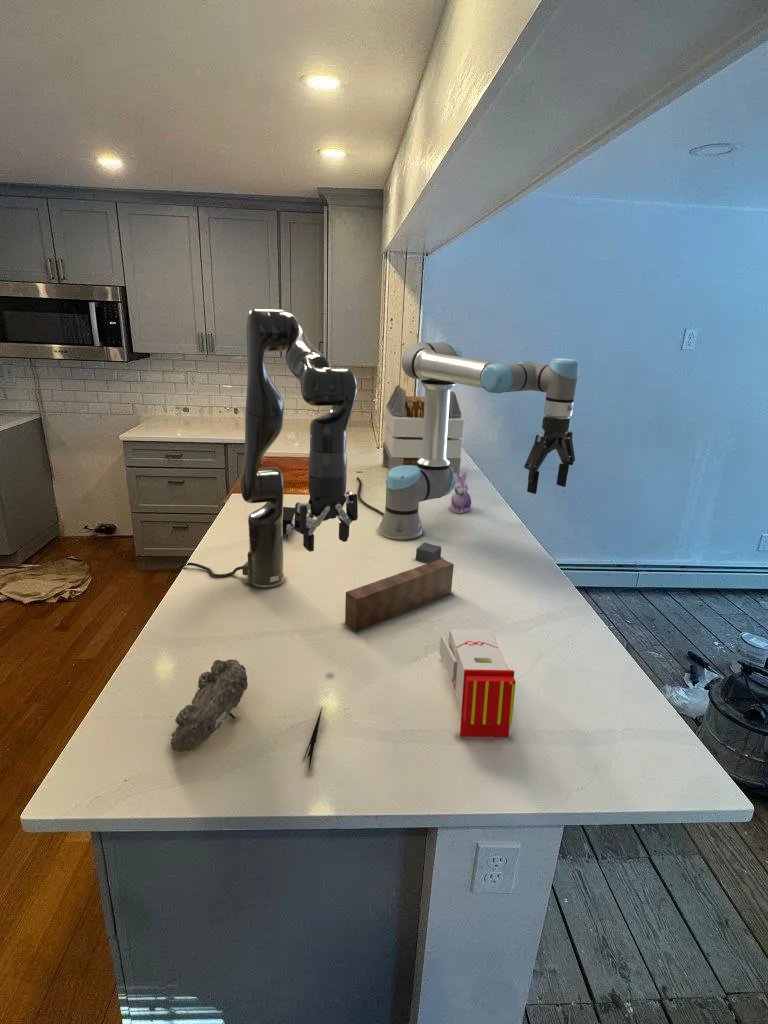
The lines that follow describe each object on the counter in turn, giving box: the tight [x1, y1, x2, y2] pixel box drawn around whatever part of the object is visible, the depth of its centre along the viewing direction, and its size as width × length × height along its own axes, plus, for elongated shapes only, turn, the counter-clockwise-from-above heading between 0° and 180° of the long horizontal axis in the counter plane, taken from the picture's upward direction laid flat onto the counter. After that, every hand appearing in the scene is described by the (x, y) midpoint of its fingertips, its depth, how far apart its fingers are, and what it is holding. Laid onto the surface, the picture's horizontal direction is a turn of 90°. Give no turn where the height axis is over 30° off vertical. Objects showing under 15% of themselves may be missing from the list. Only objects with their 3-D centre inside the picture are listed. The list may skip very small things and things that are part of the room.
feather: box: [301, 673, 332, 771], centre depth 108 cm, size 2×28×2 cm
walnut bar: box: [344, 558, 455, 633], centre depth 149 cm, size 34×4×9 cm, turn 131°
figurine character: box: [283, 506, 295, 540], centre depth 194 cm, size 7×8×15 cm
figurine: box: [449, 472, 472, 514], centre depth 224 cm, size 9×10×15 cm
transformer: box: [381, 384, 464, 484], centre depth 268 cm, size 34×33×41 cm
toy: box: [438, 628, 517, 738], centre depth 117 cm, size 12×13×30 cm
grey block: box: [415, 542, 442, 564], centre depth 180 cm, size 6×6×4 cm
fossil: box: [170, 658, 249, 753], centre depth 106 cm, size 22×10×15 cm
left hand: (326, 545), depth 118 cm, fingers open, 8 cm apart
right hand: (546, 489), depth 165 cm, fingers open, 13 cm apart
